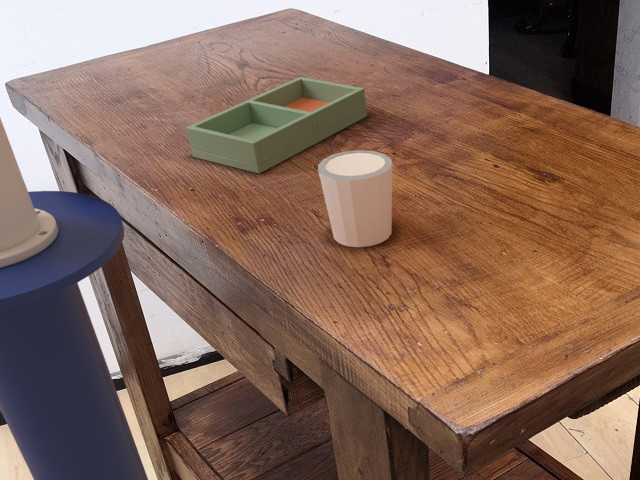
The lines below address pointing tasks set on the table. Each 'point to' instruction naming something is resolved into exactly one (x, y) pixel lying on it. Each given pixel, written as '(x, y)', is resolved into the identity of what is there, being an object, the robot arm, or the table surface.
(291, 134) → the tray
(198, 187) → the table surface
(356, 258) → the table surface
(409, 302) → the table surface
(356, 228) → the white tapered cup
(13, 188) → the robot arm
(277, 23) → the table surface
